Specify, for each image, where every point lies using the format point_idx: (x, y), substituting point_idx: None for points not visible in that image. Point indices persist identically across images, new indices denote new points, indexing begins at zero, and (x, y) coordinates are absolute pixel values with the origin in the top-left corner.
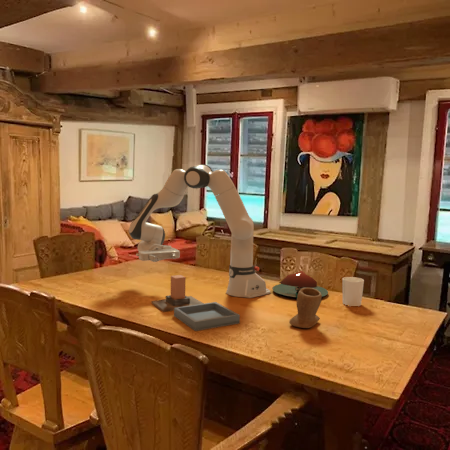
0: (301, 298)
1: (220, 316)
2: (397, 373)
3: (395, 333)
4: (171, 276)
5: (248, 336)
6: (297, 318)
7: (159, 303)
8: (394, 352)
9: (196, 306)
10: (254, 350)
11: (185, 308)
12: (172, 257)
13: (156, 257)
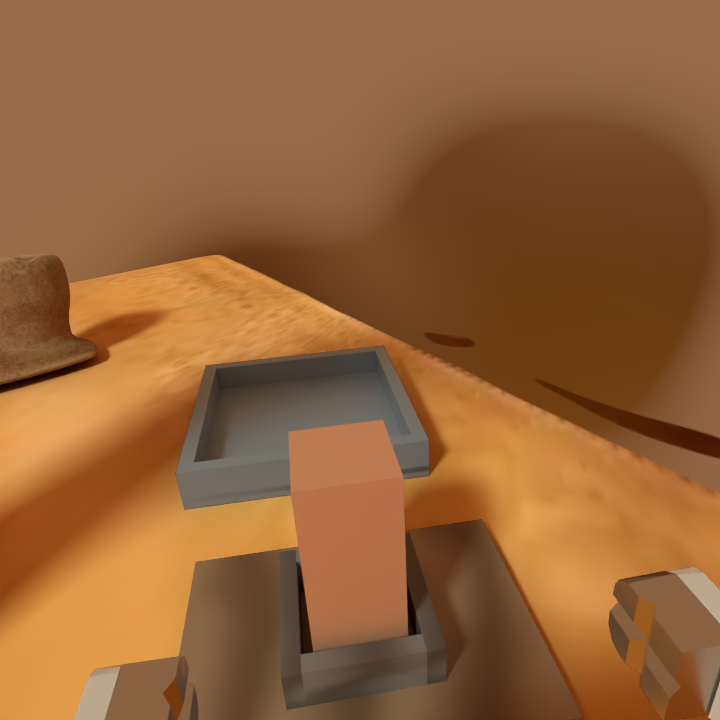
0: (62, 266)
1: (244, 417)
2: (146, 271)
3: None
4: (399, 467)
5: (256, 342)
6: (68, 341)
7: (504, 632)
8: None
9: None
10: (293, 310)
11: None
12: (191, 716)
13: (637, 580)
